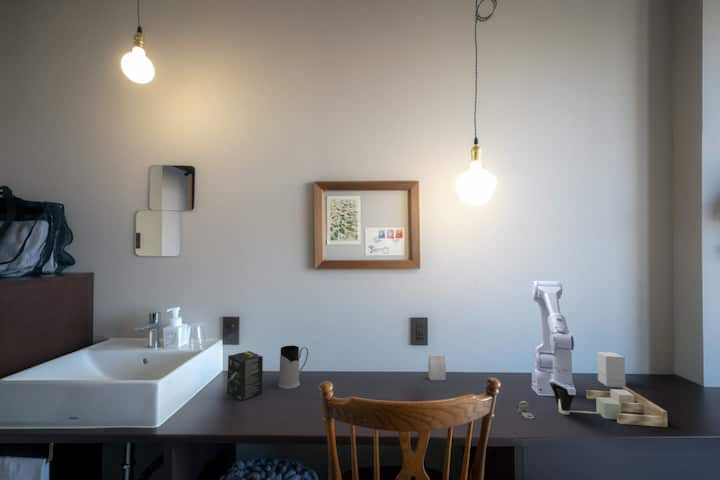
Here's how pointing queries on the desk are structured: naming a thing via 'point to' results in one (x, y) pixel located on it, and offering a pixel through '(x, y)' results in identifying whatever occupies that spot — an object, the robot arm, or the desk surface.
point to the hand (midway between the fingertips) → (563, 407)
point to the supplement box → (611, 369)
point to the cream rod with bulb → (601, 408)
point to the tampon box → (245, 375)
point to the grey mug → (290, 366)
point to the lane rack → (635, 409)
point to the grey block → (622, 396)
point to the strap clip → (524, 410)
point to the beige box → (437, 367)
